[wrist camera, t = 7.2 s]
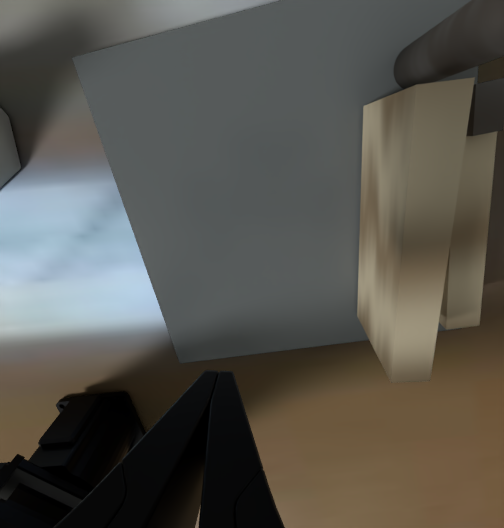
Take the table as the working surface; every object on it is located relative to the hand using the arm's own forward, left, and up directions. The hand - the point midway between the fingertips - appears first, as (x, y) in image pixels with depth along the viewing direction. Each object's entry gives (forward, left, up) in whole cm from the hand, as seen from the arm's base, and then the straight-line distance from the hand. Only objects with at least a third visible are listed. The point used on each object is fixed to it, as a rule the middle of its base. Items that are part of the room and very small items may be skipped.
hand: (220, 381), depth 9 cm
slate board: (+2, -3, -12) cm, 13 cm away
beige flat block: (+1, -8, -11) cm, 13 cm away
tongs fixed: (+2, -11, -11) cm, 16 cm away
